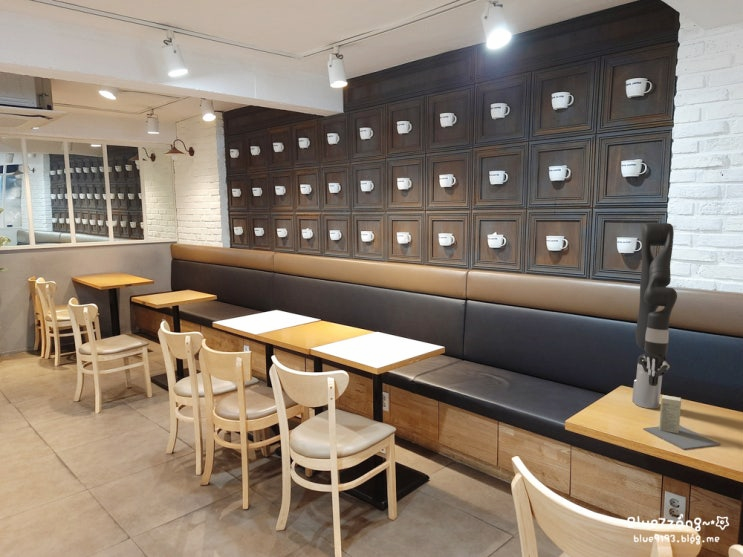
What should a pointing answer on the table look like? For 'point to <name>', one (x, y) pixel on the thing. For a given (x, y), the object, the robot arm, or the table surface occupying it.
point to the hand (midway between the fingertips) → (652, 385)
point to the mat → (682, 438)
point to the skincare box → (670, 414)
